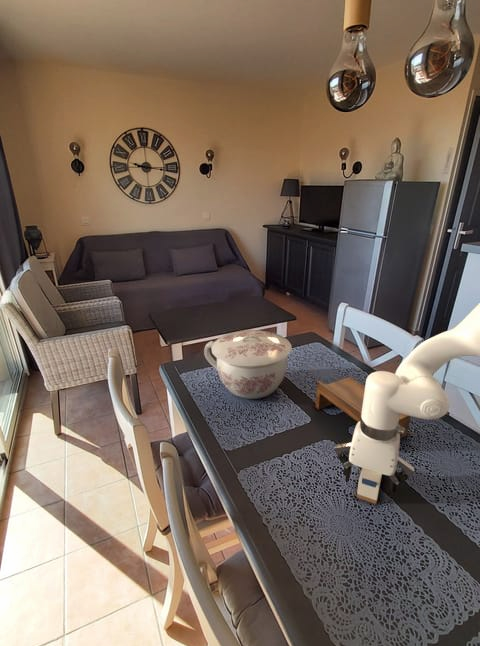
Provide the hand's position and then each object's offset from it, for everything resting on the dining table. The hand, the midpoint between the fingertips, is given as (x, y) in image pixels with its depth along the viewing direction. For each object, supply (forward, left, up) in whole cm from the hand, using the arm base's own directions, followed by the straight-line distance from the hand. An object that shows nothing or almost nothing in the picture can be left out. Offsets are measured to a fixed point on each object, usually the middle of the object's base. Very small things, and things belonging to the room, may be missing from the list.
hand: (368, 484), depth 85 cm
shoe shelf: (-18, -21, -2) cm, 28 cm away
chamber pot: (+1, -54, -2) cm, 54 cm away
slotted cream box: (-2, -1, -2) cm, 3 cm away
